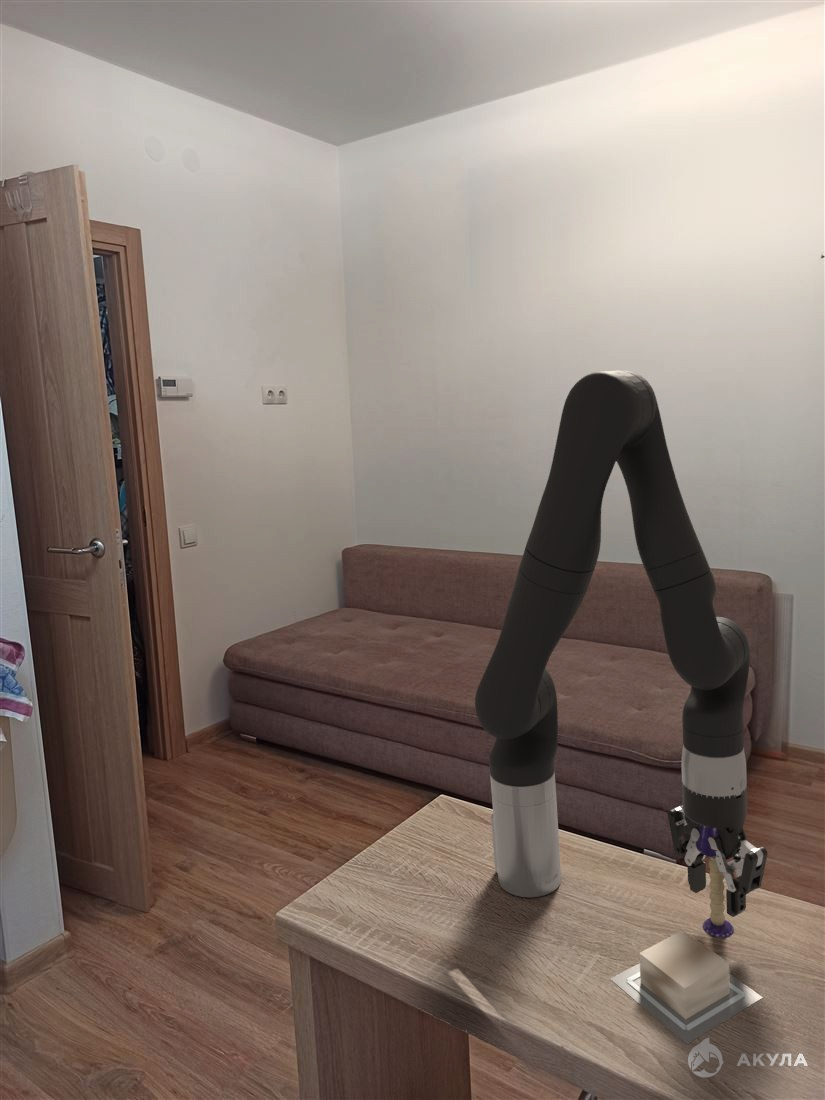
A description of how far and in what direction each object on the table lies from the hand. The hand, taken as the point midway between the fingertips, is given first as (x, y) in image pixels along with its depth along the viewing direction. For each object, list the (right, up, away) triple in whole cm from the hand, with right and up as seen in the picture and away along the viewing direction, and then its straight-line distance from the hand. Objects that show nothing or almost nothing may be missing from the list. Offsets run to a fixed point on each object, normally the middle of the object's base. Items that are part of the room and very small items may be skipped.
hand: (716, 900), depth 104 cm
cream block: (-7, -7, -9) cm, 13 cm away
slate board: (-7, -8, -8) cm, 13 cm away
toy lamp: (0, -5, +1) cm, 5 cm away
